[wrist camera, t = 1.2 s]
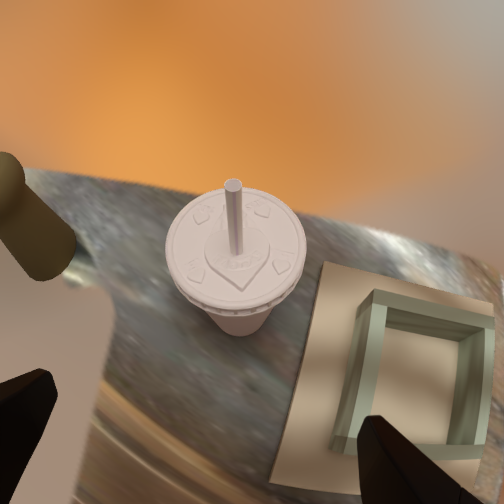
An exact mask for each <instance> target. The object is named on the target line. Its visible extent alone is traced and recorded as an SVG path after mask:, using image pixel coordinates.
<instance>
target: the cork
mask: <svg viewBox="0 0 504 504" xmlns="http://www.w3.org/2000/svg"><path fill="white" fill-rule="evenodd" d="M0 239H1V240H2V242H3V243H4V244H5V246H6V247H7V249H8V250H9V251H10V253H11V254H12V255H13V256H14V257H15V259H16V260H17V262H18V263H19V264H20V265H21V267H22V268H23V269H24V271H25V272H26V273H27V274H28V275H29V277H31V278H33V279H34V280H36V281H46V280H50V279H53V278H54V277H56V276H58V275H59V274H61V273H62V272H63V271H64V269H65V268H66V267H67V266H68V265H69V263H70V261H71V260H72V258H73V256H74V252H75V249H76V236H75V234H74V231H73V230H72V229H71V227H70V226H69V225H68V224H66V223H65V222H64V221H63V220H62V219H61V218H60V217H59V216H58V215H57V214H56V213H55V212H54V211H53V210H52V209H51V208H50V207H49V206H48V205H46V204H45V203H44V202H43V201H42V200H41V199H40V198H39V197H38V196H37V195H36V194H35V193H34V192H33V191H32V190H31V189H30V188H29V187H28V186H27V185H26V184H25V174H24V170H23V167H22V166H21V164H20V162H19V161H18V160H17V159H16V158H15V157H14V156H13V155H11V154H9V153H6V152H0Z"/></svg>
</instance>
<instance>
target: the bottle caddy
mask: <svg viewBox="0 0 504 504" xmlns="http://www.w3.org/2000/svg"><path fill="white" fill-rule="evenodd" d="M494 345H495V322H494V317H493V304H491V303H488V302H484V301H480V300H476V299H472V298H468V297H464V296H461V295H457V294H453V293H449V292H445V291H441V290H437V289H433V288H429V287H426V286H422V285H418V284H414V283H410V282H406V281H402V280H398V279H394V278H390V277H386V276H382V275H378V274H374V273H370V272H366V271H362V270H358V269H354V268H350V267H346V266H342V265H338V264H334V263H330V262H326V261H324V262H323V265H322V267H321V272H320V277H319V282H318V287H317V292H316V297H315V302H314V307H313V311H312V316H311V321H310V325H309V330H308V334H307V339H306V343H305V347H304V351H303V356H302V360H301V364H300V368H299V372H298V376H297V380H296V384H295V388H294V392H293V396H292V400H291V403H290V407H289V411H288V415H287V418H286V422H285V425H284V429H283V433H282V436H281V439H280V443H279V446H278V450H277V453H276V456H275V460H274V463H273V466H272V470H271V473H270V476H269V479H268V480H269V482H270V483H275V484H280V485H285V486H291V487H297V488H303V489H309V490H317V491H324V492H333V493H343V494H355V495H361V492H360V485H359V469H358V455H357V435H358V433H359V430H360V428H361V425H362V423H363V421H364V418H365V417H366V416H368V415H381V416H382V417H384V418H385V419H386V420H387V421H388V422H389V423H390V424H391V425H392V426H394V427H395V428H396V429H397V430H398V431H399V432H400V433H401V434H402V435H404V436H405V437H406V438H407V439H408V440H409V441H410V442H411V443H413V444H414V445H415V446H416V447H417V448H418V449H419V450H421V451H422V452H423V453H424V454H425V455H426V456H427V457H429V458H430V459H431V460H432V461H433V462H434V463H435V464H437V465H438V466H439V467H440V468H441V469H442V470H444V471H445V472H446V473H447V474H448V475H449V476H450V477H452V478H453V479H454V480H455V481H456V482H458V483H459V484H460V485H461V487H464V488H465V489H466V490H467V491H468V492H472V491H473V488H474V484H475V480H476V476H477V472H478V468H479V464H480V459H482V455H483V450H484V444H485V439H486V433H487V427H488V420H489V413H490V405H491V396H492V385H493V371H494Z"/></svg>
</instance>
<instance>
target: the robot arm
mask: <svg viewBox="0 0 504 504" xmlns="http://www.w3.org/2000/svg"><path fill="white" fill-rule="evenodd" d="M57 397H58V392H57V389H56V386H55V383H54V380H53V376H52V374H51V373H50V372H49V371H47V370H44V369H40V368H39V369H36V370H33V371H31V372H28V373H25V374H23V375H20V376H18V377H15V378H13V379H10V380H8V381H5V382H3V383H0V504H9V502H10V500H11V498H12V496H13V493H14V491H15V489H16V487H17V485H18V483H19V480H20V478H21V476H22V474H23V472H24V470H25V468H26V466H27V464H28V462H29V460H30V458H31V456H32V454H33V452H34V450H35V448H36V446H37V445H38V443H39V441H40V439H41V437H42V434H43V432H44V429H45V427H46V425H47V422H48V420H49V417H50V415H51V412H52V410H53V408H54V405H55V403H56V400H57ZM357 455H358V469H359V485H360V492H361V498H362V503H363V504H484V503H482V502H481V501H480V500H478V499H477V498H476V497H475V496H473V495H472V494H471V493H470V492H468V491H467V490H466V489H465V488H464V487H461V485H460V484H459V483H458V482H456V481H455V480H454V479H453V478H452V477H450V476H449V475H448V474H447V473H446V472H445V471H444V470H442V469H441V468H440V467H439V466H438V465H437V464H435V463H434V462H433V461H432V460H431V459H430V458H429V457H427V456H426V455H425V454H424V453H423V452H422V451H421V450H419V449H418V448H417V447H416V446H415V445H414V444H413V443H411V442H410V441H409V440H408V439H407V438H406V437H405V436H404V435H402V434H401V433H400V432H399V431H398V430H397V429H396V428H395V427H394V426H392V425H391V424H390V423H389V422H388V421H387V420H386V419H385V418H384V417H382V416H381V415H368V416H366V417H365V418H364V421H363V423H362V425H361V428H360V430H359V433H358V435H357Z"/></svg>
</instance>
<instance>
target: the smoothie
mask: <svg viewBox="0 0 504 504" xmlns="http://www.w3.org/2000/svg"><path fill="white" fill-rule="evenodd" d="M224 187H225V188H222V189H218V190H214V191H210V192H208V193H205V194H203V195H201V196H199V197H198V198H196V199H194V200H193V201H191V202H190V203H189V204H188V205H186V206H185V207H184V208H183V209H182V210H181V211H180V212H179V214H178V215H177V216H176V218H175V219H174V221H173V223H172V224H171V226H170V229H169V231H168V235H167V239H166V248H165V251H166V260H167V264H168V267H169V270H170V274H171V276H172V278H173V281H174V283H175V285H176V287H177V289H178V290H179V291H180V292H181V293H182V294H183V295H184V296H185V297H186V298H187V299H188V300H189V301H190V302H191V303H193V304H194V305H196V306H198V307H199V308H201V309H203V310H205V311H206V312H207V314H208V315H209V316H210V317H211V318H212V319H213V320H214V322H215V323H216V324H217V325H218V326H219V327H220V328H221V329H222V330H223V331H224V332H226V333H227V334H230V335H232V336H240V337H241V336H247V335H250V334H252V333H254V332H256V331H257V330H258V329H259V328H260V327H261V326H262V324H263V323H264V321H265V320H266V318H267V317H268V315H269V314H270V312H271V311H272V309H273V308H274V306H275V305H277V304H279V303H280V302H281V301H282V300H283V299H284V298H285V297H286V296H287V295H288V294H289V293H290V292H291V291H292V290H293V289H294V288H295V286H296V284H297V282H298V280H299V279H300V277H301V275H302V271H303V266H304V261H305V256H306V238H305V233H304V230H303V227H302V225H301V223H300V221H299V219H298V218H297V216H296V215H295V213H294V212H293V211H292V210H291V209H290V208H289V207H288V206H287V205H286V204H285V203H283V202H282V201H281V200H279V199H278V198H276V197H274V196H273V195H271V194H268V193H266V192H263V191H260V190H257V189H252V188H246V187H245V188H244V187H242V183H241V182H240V181H239V180H237V179H229V180H227V181H226V183H225V186H224Z"/></svg>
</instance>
